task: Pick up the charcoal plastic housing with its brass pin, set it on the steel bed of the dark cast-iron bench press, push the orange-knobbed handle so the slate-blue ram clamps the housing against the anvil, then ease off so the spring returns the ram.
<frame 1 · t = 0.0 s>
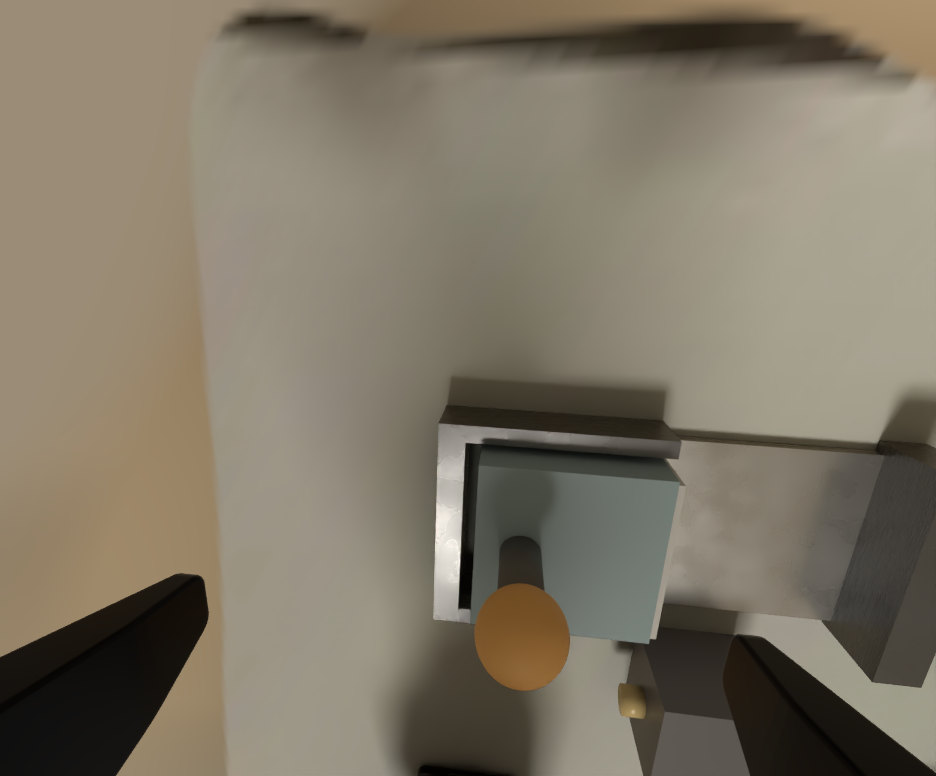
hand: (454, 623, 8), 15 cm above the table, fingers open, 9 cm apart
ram: (575, 582, 18), point 5 cm above the table, slide at 0.0 cm
press frame: (729, 526, 23), on the table
housing: (676, 665, 25), on the table
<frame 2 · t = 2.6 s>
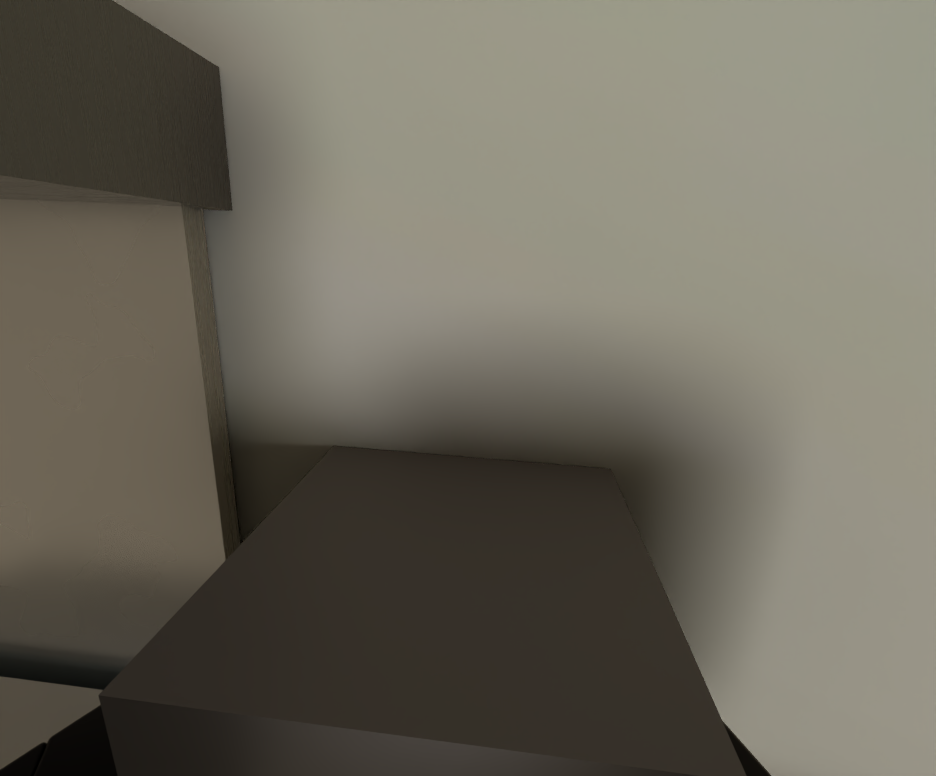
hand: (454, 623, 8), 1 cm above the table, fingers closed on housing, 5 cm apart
press frame: (26, 488, 9), on the table
housing: (462, 574, 9), on the table, touching gripper
when the fingers open (3 cm above the table, at t = 7.3 s): housing drops 1 cm, resting on press frame.
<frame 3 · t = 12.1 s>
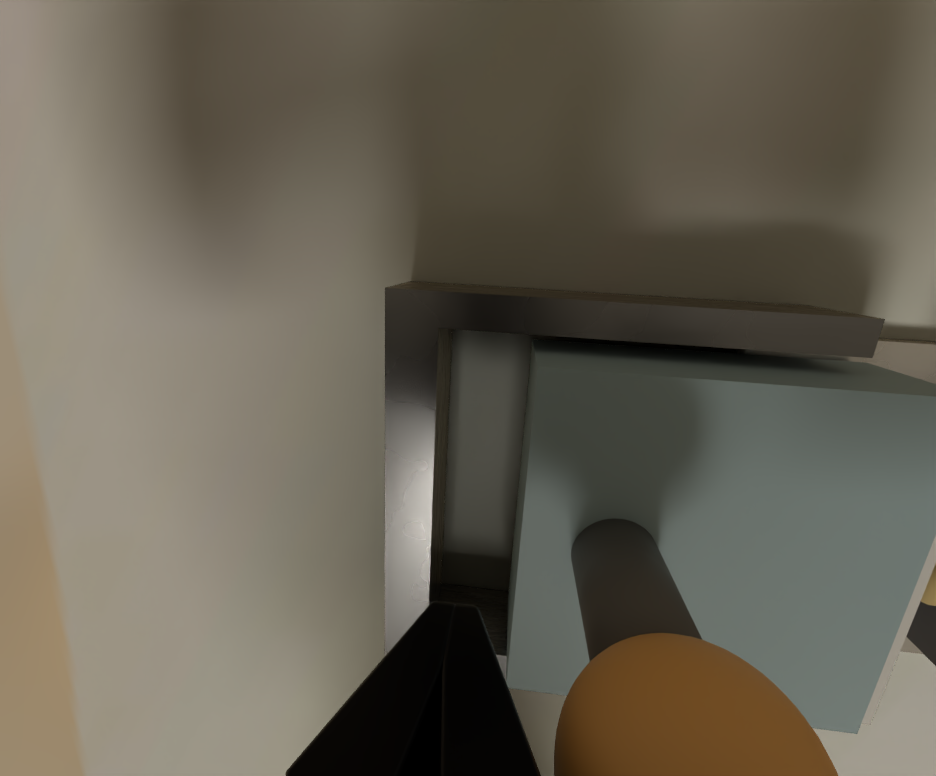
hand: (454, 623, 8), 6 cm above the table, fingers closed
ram: (753, 621, 8), point 5 cm above the table, slide at 1.5 cm, touching gripper
press frame: (911, 504, 13), on the table
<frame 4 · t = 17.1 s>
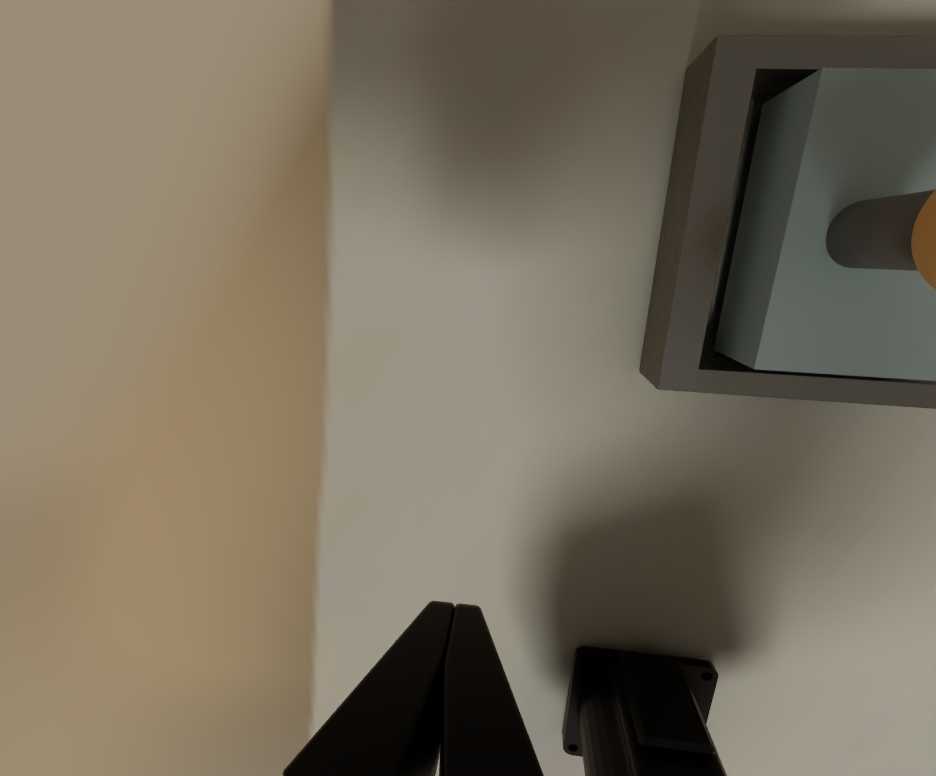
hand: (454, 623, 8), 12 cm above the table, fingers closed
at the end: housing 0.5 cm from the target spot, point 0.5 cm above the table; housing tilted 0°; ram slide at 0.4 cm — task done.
